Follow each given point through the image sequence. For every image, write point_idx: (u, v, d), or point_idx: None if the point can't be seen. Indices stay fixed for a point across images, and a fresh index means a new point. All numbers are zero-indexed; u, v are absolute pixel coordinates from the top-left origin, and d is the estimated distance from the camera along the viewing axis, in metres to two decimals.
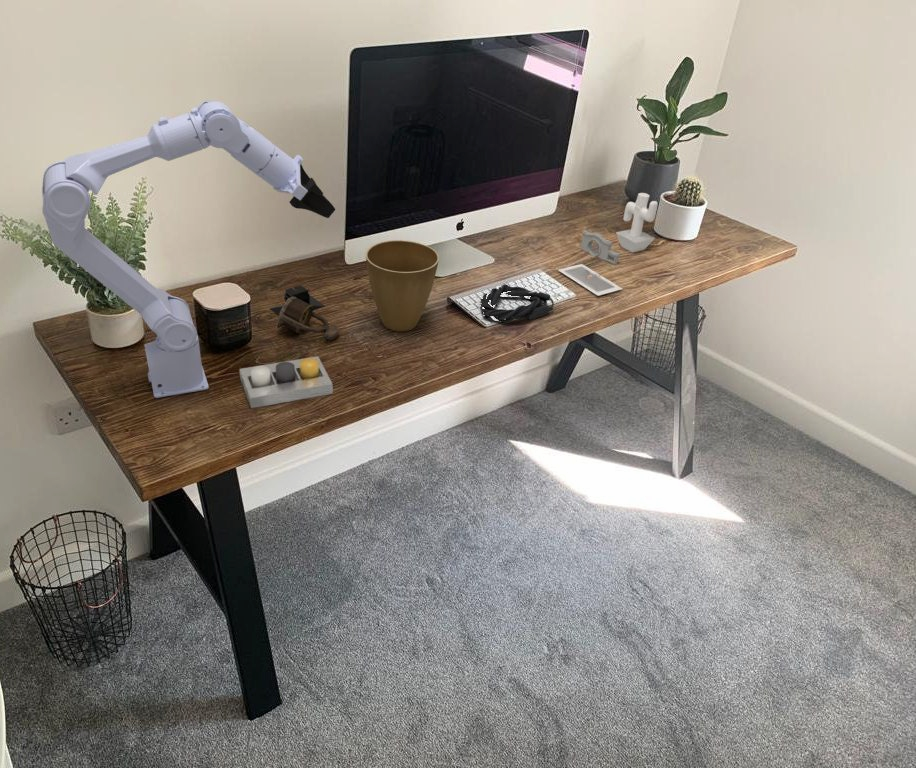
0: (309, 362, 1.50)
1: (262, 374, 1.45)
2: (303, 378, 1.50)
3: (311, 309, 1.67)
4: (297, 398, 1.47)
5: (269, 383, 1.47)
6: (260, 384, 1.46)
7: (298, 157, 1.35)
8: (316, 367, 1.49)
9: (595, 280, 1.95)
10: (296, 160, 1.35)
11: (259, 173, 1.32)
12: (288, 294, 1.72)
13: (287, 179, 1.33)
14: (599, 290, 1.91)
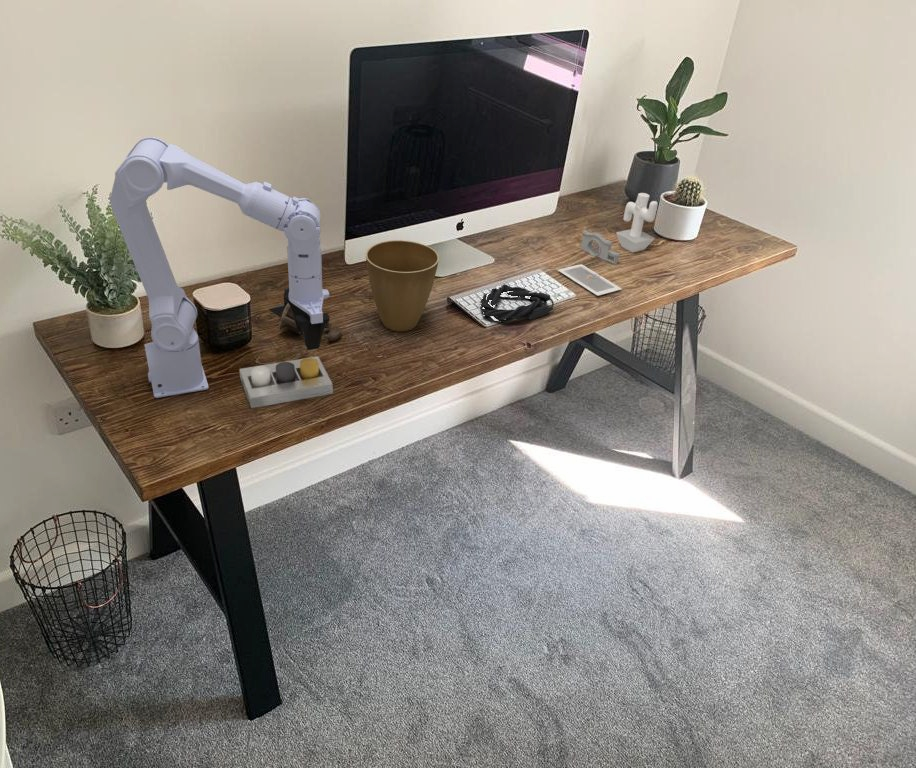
0: (309, 362, 1.50)
1: (262, 374, 1.45)
2: (303, 378, 1.50)
3: None
4: (297, 398, 1.47)
5: (269, 383, 1.47)
6: (260, 384, 1.46)
7: (326, 292, 1.43)
8: (316, 367, 1.49)
9: (594, 280, 1.95)
10: (323, 292, 1.42)
11: (295, 279, 1.37)
12: None
13: (310, 300, 1.39)
14: (599, 290, 1.91)
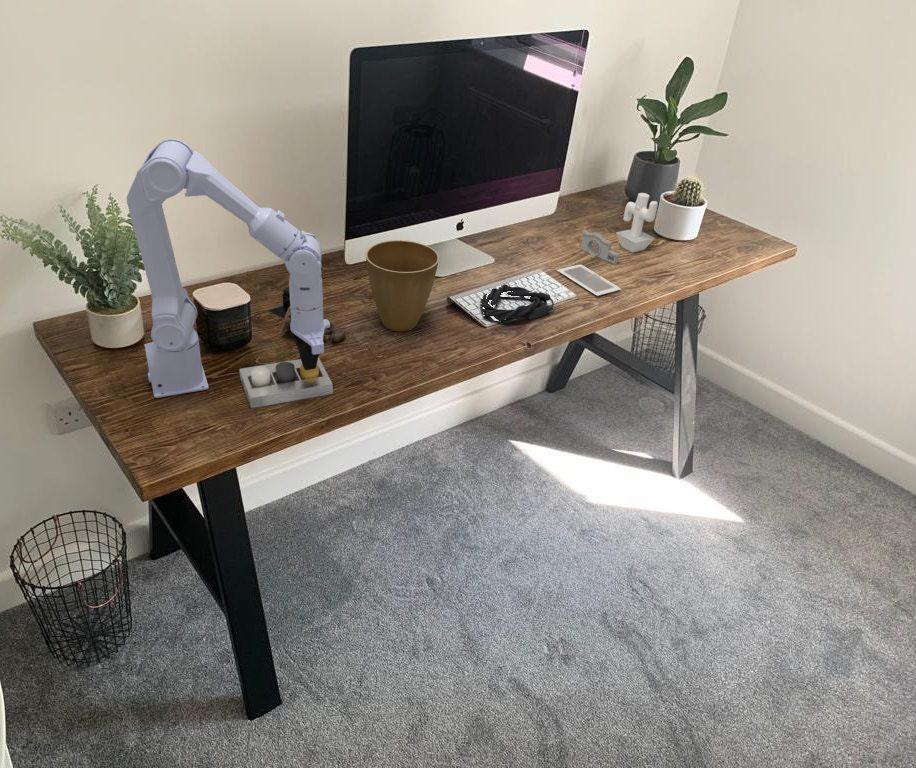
0: None
1: (262, 374, 1.45)
2: None
3: None
4: (297, 398, 1.47)
5: (269, 383, 1.47)
6: (260, 384, 1.46)
7: (327, 322, 1.46)
8: (316, 372, 1.50)
9: (594, 280, 1.95)
10: (324, 323, 1.46)
11: (297, 311, 1.40)
12: (287, 294, 1.72)
13: (311, 331, 1.43)
14: (598, 290, 1.91)
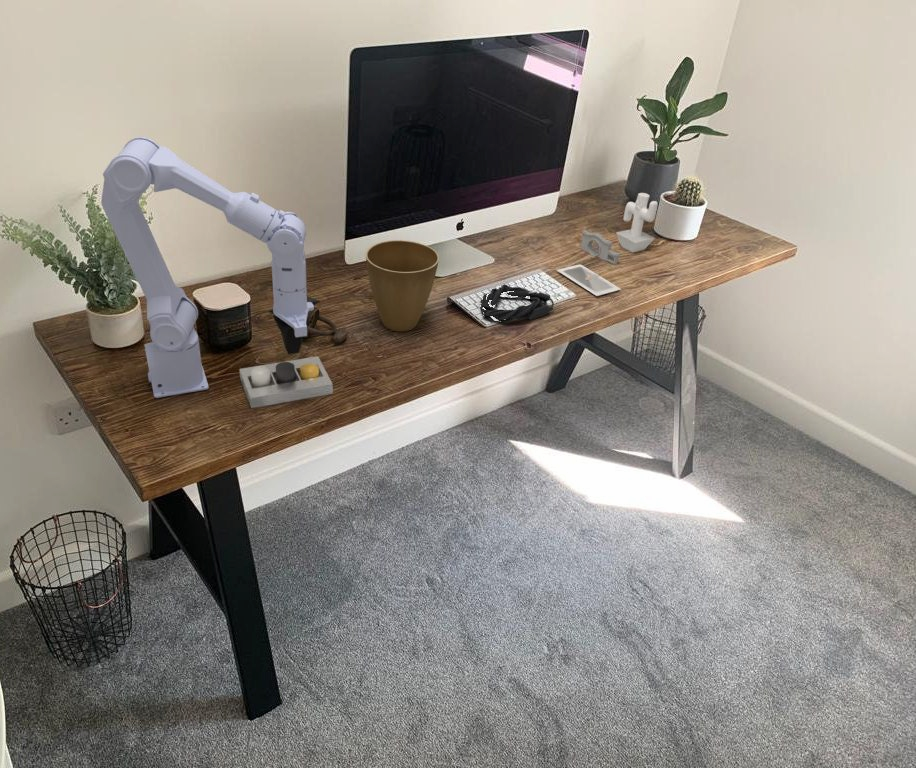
0: (309, 367, 1.50)
1: (262, 374, 1.45)
2: None
3: (318, 312, 1.66)
4: (297, 398, 1.47)
5: (269, 383, 1.47)
6: (260, 384, 1.46)
7: (311, 304, 1.43)
8: (316, 372, 1.50)
9: (593, 280, 1.95)
10: (308, 305, 1.43)
11: (279, 292, 1.37)
12: None
13: (294, 313, 1.39)
14: (598, 290, 1.91)
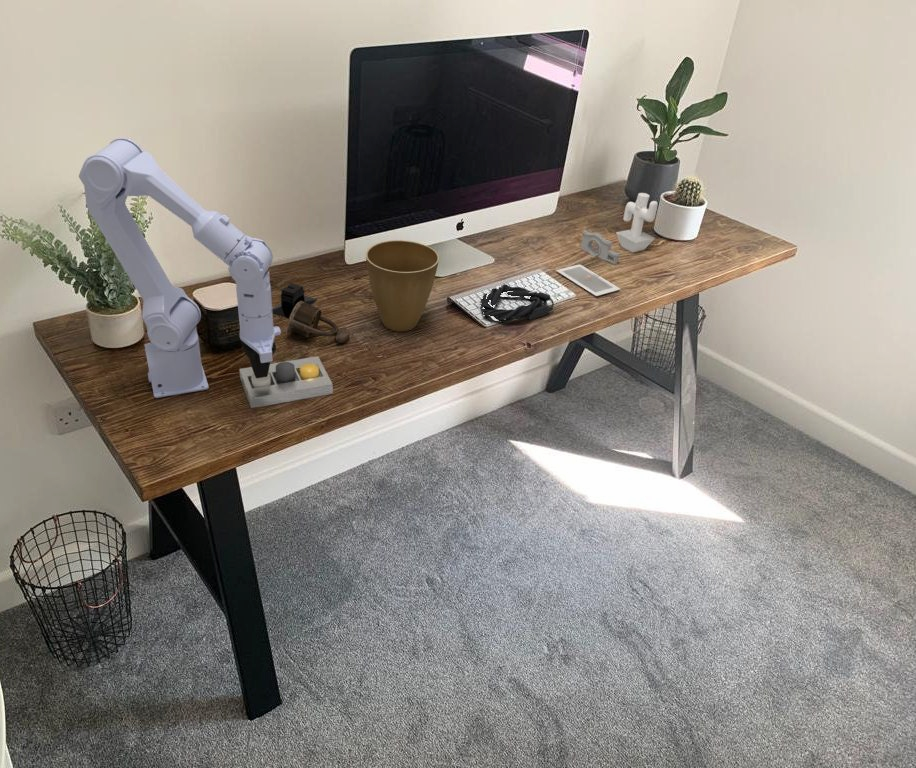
0: (309, 367, 1.50)
1: (263, 379, 1.46)
2: None
3: (319, 313, 1.66)
4: (297, 398, 1.47)
5: None
6: None
7: (278, 329, 1.43)
8: (316, 372, 1.50)
9: (593, 280, 1.95)
10: (275, 330, 1.43)
11: (245, 318, 1.37)
12: (286, 294, 1.72)
13: (260, 339, 1.39)
14: (597, 290, 1.91)
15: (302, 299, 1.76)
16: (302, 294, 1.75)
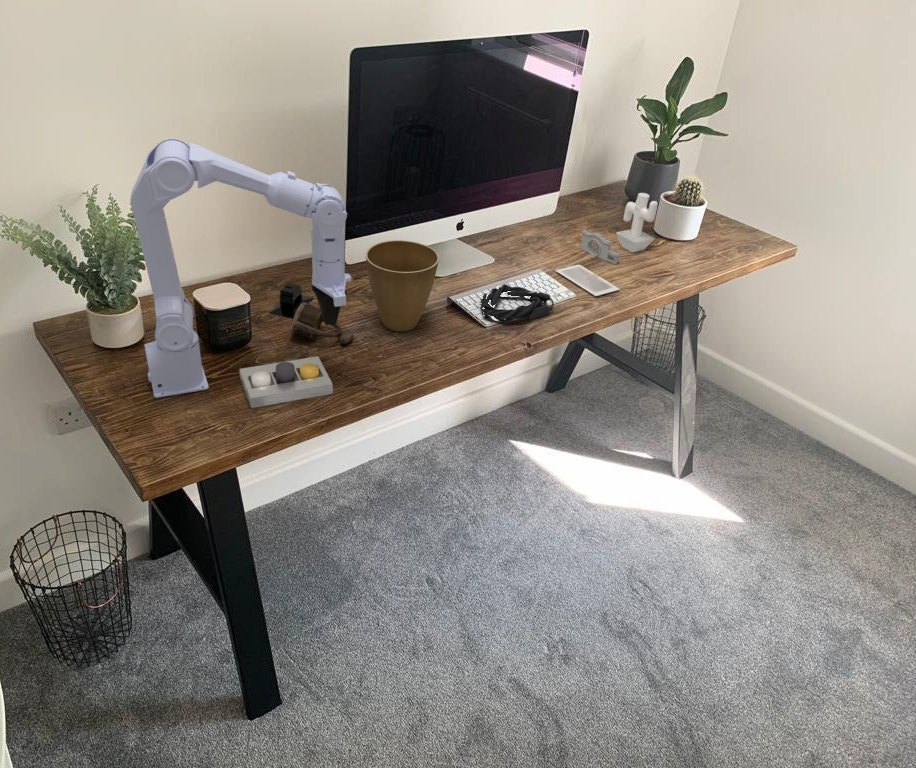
0: (309, 367, 1.50)
1: (263, 380, 1.46)
2: None
3: None
4: (297, 398, 1.47)
5: None
6: None
7: (348, 276, 1.46)
8: (316, 372, 1.50)
9: (592, 280, 1.95)
10: (346, 276, 1.46)
11: (319, 263, 1.41)
12: (285, 294, 1.72)
13: (333, 284, 1.43)
14: (597, 290, 1.90)
15: (299, 298, 1.77)
16: (300, 293, 1.75)
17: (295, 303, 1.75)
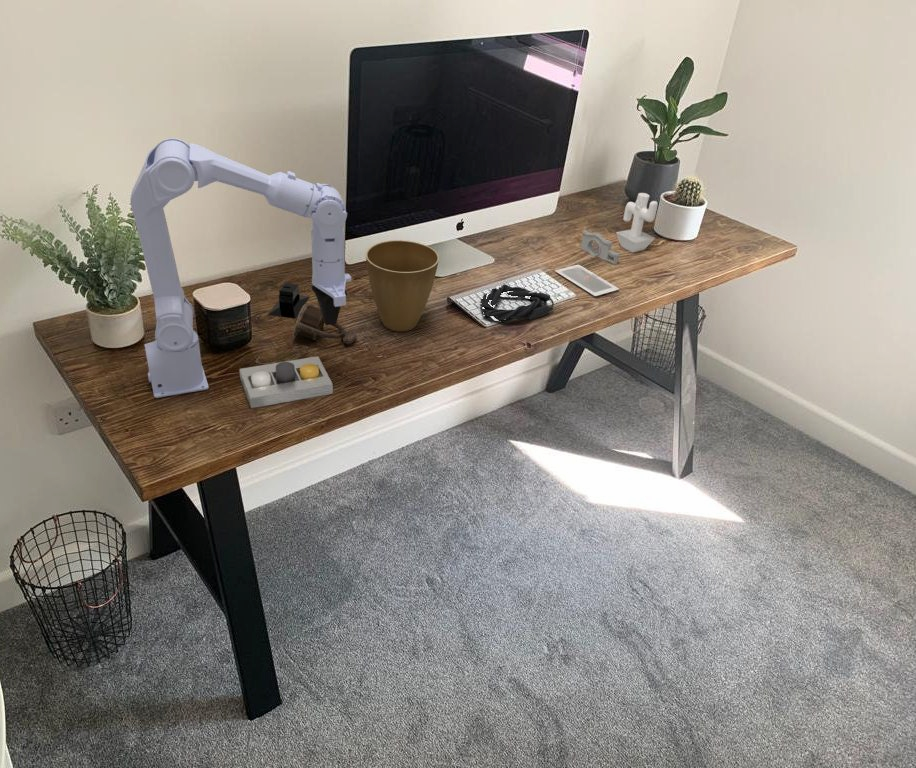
0: (309, 367, 1.50)
1: (263, 380, 1.46)
2: None
3: None
4: (297, 398, 1.47)
5: None
6: None
7: (349, 276, 1.46)
8: (316, 372, 1.50)
9: (592, 280, 1.95)
10: (346, 276, 1.46)
11: (319, 263, 1.41)
12: (284, 294, 1.72)
13: (333, 284, 1.43)
14: (596, 290, 1.90)
15: (297, 297, 1.77)
16: (298, 292, 1.76)
17: (294, 303, 1.75)
